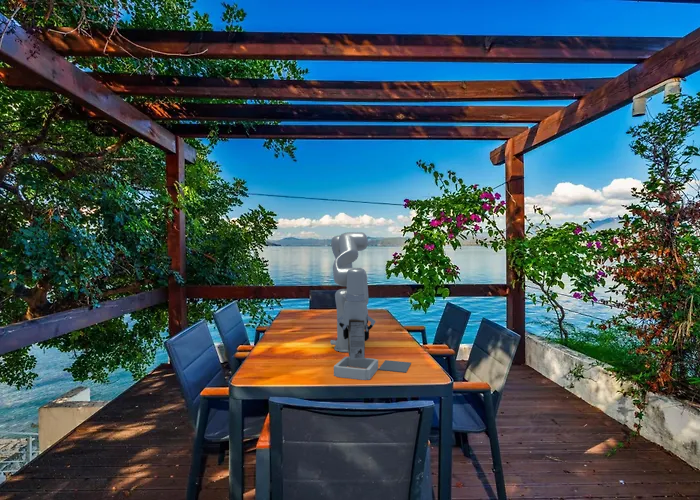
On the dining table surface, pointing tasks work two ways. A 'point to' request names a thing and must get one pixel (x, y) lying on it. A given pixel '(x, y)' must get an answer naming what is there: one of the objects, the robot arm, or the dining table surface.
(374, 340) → the dining table surface
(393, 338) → the dining table surface
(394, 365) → the mat
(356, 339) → the coffee box
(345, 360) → the holder
